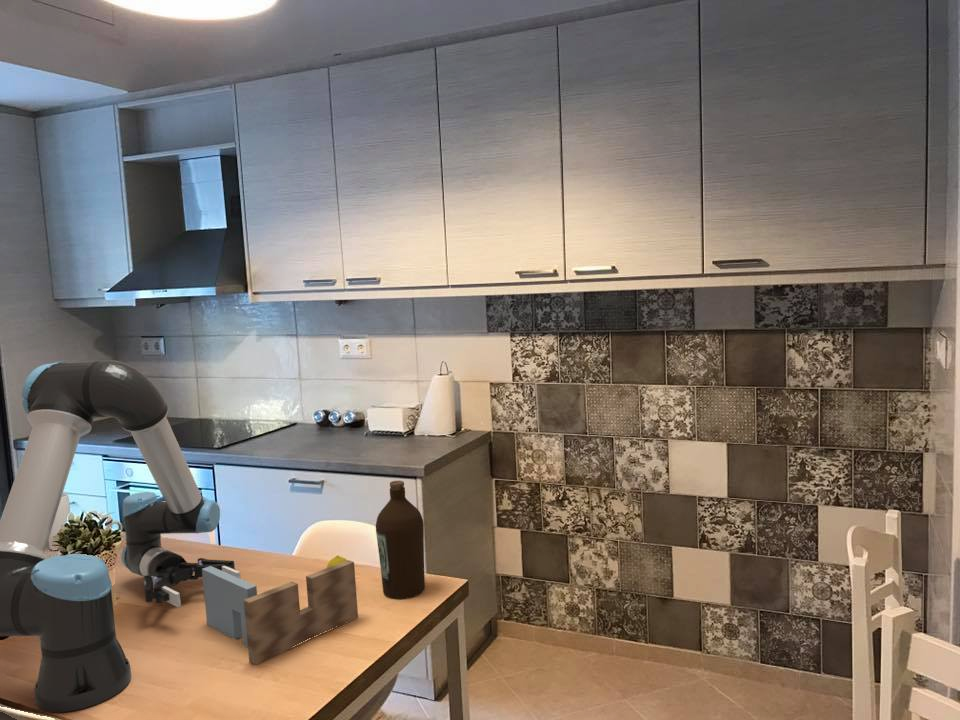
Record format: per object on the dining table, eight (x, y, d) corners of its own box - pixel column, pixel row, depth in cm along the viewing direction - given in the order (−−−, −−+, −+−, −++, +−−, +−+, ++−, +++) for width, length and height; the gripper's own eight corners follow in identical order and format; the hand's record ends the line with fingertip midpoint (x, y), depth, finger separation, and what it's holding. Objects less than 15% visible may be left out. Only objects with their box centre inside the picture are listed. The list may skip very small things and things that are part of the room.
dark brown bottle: (421, 578, 173) (415, 473, 171) (432, 595, 163) (425, 484, 161) (376, 586, 170) (369, 479, 168) (384, 604, 160) (376, 491, 158)
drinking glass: (78, 545, 211) (73, 494, 209) (54, 553, 205) (48, 501, 204) (66, 542, 215) (60, 492, 213) (41, 550, 209) (35, 498, 207)
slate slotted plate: (207, 624, 155) (201, 568, 154) (216, 620, 157) (210, 565, 155) (252, 649, 143) (247, 589, 142) (261, 645, 145) (256, 585, 143)
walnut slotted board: (254, 665, 137) (249, 602, 136) (249, 661, 138) (243, 600, 137) (358, 617, 154) (354, 562, 153) (352, 615, 156) (348, 560, 154)
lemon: (340, 596, 166) (338, 561, 165) (322, 591, 169) (319, 558, 168) (357, 587, 170) (354, 553, 170) (339, 583, 173) (336, 550, 173)
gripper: (215, 566, 180) (263, 586, 166) (109, 602, 162) (152, 628, 148) (213, 536, 179) (260, 553, 165) (105, 569, 161) (149, 592, 147)
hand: (209, 589), depth 156 cm, fingers open, 13 cm apart
